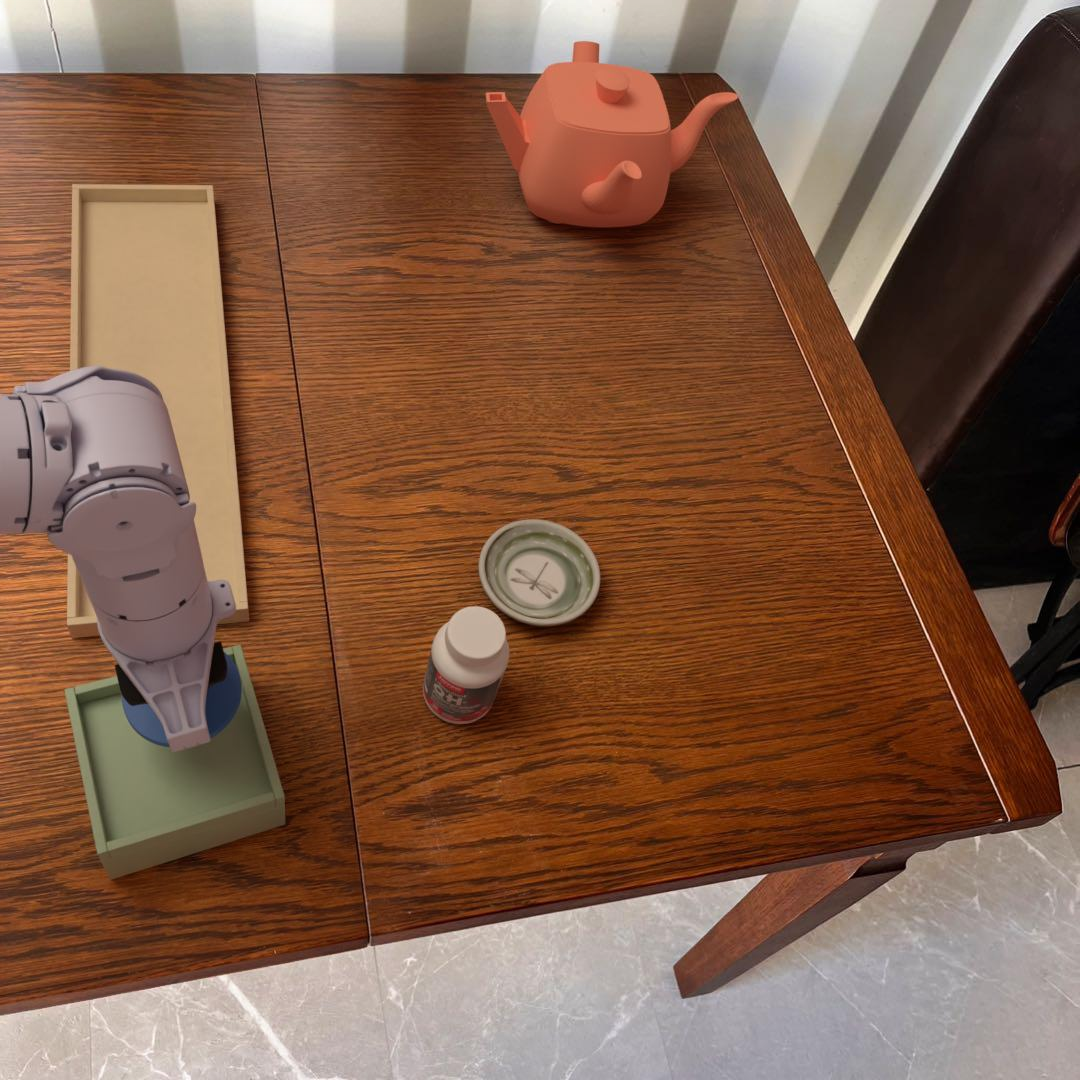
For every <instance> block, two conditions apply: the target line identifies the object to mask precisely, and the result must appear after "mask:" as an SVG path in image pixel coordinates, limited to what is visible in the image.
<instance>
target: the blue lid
mask: <svg viewBox="0 0 1080 1080" xmlns="http://www.w3.org/2000/svg"><path fill="white" fill-rule="evenodd" d="M224 654H225V658H226V661H227V676H226V679H225V680H224V681H222V682H219V683H217V684H215V685H213V686H211V687H210V688H209V690H208V693H207V696H206V706H205V714H206V722H207V727H208V731H209V735H210V738H213V737H214V736H216V735H217V734H218V733H220V732H221V731H222V730H223V729H224V728H225V727H226V726H227V725H228V724H229V723H230V721H231V720H232V719H233V717H234V715H235V714H236V712H237V710H238V707H239V704H240V700H241V694H242V686H241V680H240V675H239V672H238V669H237V667H236V665H235V664H234V662H233V661H232V659H231V658H230V657H229V656H228V655H227V654H226V653H225V652H224ZM122 704H123V709H124V712H125V715H126V717H127V719H128V721H129V723H130V725H131V726H132V728H133V729H134V730H135V731H136V732H137V733H138V734H139V735H140V736H141V737H143V738H144V739H146V740H148V741H149V742H151V743H154V744H156V745H160V746H164V747H170V746H169V743H168V740H167V738H166V734H165V731H164V728H163V725H162V723H161V721H160V720H159V718H158V717H157V715H156V714H155V712H154V711H153V710H152V708H151V707H150V706H149V704H141V705H136V706H131V705H129V704H128V702H127V701H126V700H125V699H124V697H123V696H122Z"/></svg>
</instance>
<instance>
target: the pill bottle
mask: <svg viewBox="0 0 1080 1080" xmlns="http://www.w3.org/2000/svg"><path fill="white" fill-rule="evenodd" d="M506 631H507V630H506V627H505V624H504V622H503V620H502V619H501V618H500V617H499V615H498V614H497V613H496V612H494V611H493V610H491V609H489V608H486V607H484V606H477V605H471V606H467V607H463V608H461V609H459V610H458V611H457V612H455V613H454V614H453V615H452V616H451V617H450V620H448V621H447V622H446V623H444V624H443V625H442V626H441V627H440V628H439V629H438V631H437V632H436V634H435V636H434V638H433V641H432V644H431V648H430V653H429V658H428V661H427V665H426V669H425V673H424V678H423V683H422V694H423V699H424V702H425V704H426V706H427V707H428V709H429V710H430V711H431V712H432V713H433V715H434V716H436V717H437V718H439V719H440V720H442V721H444V722H447V723H449V724H454V725H464V724H465V725H466V724H467V725H469V724H471V723H473V722H476V721H478V720H480V719H481V718H483V717H485V716H486V715H487V714H488V712H489V711H490V709H491V708H492V706H493V704H494V701H495V699H496V697H497V695H498V691H499V688H500V686H501V683H502V680H503V678H504V675H505V673H506V670H507V668H508V666H509V661H510V646H509V645H510V644H509V642H508V639H507V632H506Z"/></svg>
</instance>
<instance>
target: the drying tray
mask: <svg viewBox="0 0 1080 1080" xmlns="http://www.w3.org/2000/svg"><path fill="white" fill-rule="evenodd" d="M214 193H215V191H214V185H213V184H119V183H118V184H117V183H116V184H114V183H113V184H112V183H111V184H110V183H107V184H106V183H105V184H103V183H101V184H100V183H98V184H95V183H83V184H82V183H72V184H71V243H70V244H71V245H70V246H71V247H70V248H71V249H70V251H71V252H70V253H71V254H70V322H69V323H70V327H69V328H70V329H69V337H70V340H69V371H71V370H75V369H79V368H84V367H90V366H103V367H107V368H110V369H119V370H125V371H129V372H132V373H136V374H138V375H140V376H143V377H144V378H146V379H148V380H149V381H151V382H152V383H153V384H154V385H155V386H156V387H157V388H158V389H159V391H160V392H161V394H162V397H163V400H164V403H165V404H166V407H167V409H168V412H169V416H170V420H171V424H172V428H173V432H174V435H175V439H176V443H177V447H178V451H179V455H180V459H181V462H182V466H183V470H184V474H185V478H186V482H187V486H188V490H189V495H190V500H189V503H190V502H193V503H196V514H195V517H194V522H195V527H196V531H197V536H198V540H199V545H200V549H201V554H202V559H203V564H204V568H205V573H206V577H207V581H216V580H225V581H228V582H229V584H230V586H231V589H232V593H233V596H234V600H235V604H236V611H235V613H234V614H233V615H231V616H230V617H226V618H223V619H221V620H219V622H218V623H217V625H227V624H238V623H244V622H245V623H247V622H250V613H249V612H250V611H249V601H248V599H249V598H248V589H247V588H248V587H247V578H246V565H245V551H244V540H243V529H242V528H243V527H242V516H241V504H240V492H239V480H238V470H237V468H238V467H237V457H236V444H235V433H234V422H233V409H232V396H231V385H230V373H229V362H228V349H227V338H226V336H227V335H226V325H225V314H224V301H223V289H222V277H221V265H220V251H219V239H218V229H217V228H218V227H217V217H216V206H215V194H214ZM66 570H67V571H66V572H67V573H66V574H67V576H66V577H67V578H66V581H67V582H66V586H67V587H66V592H67V593H66V626H67V629H68V632H69V635H70V638H71V639H79V638H89V637H91V638H92V637H101V636H100V633H99V630H98V626H97V616H96V613H95V611H94V609H93V606H92V604H91V602H90V599H89V597H88V595H87V592H86V589H85V587H84V584H83V582H82V580H81V577H80V575H79V572H78V570H77V568H76V565H75V563H74V561H73V558H72V556H71V555H70V554H68V553H67V569H66Z"/></svg>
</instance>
